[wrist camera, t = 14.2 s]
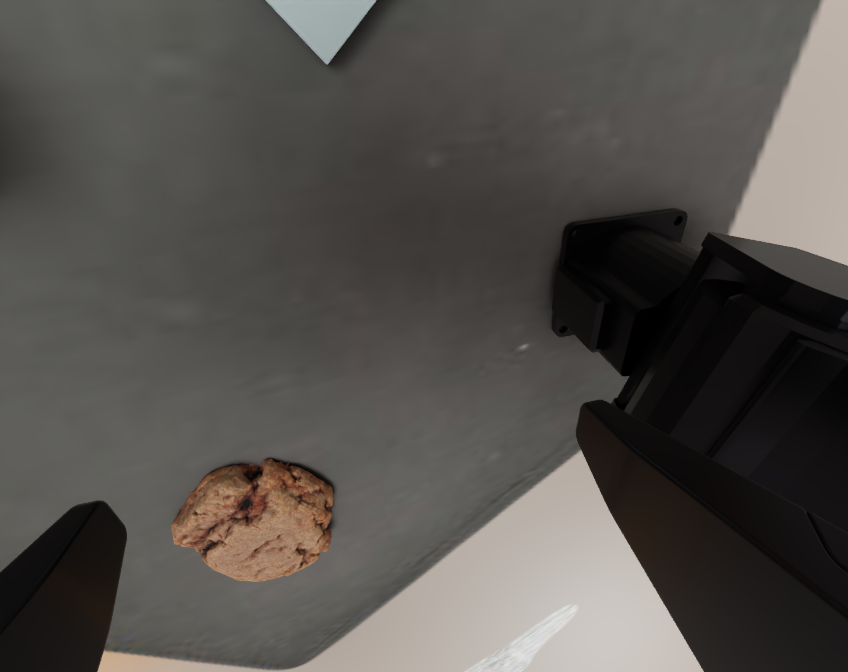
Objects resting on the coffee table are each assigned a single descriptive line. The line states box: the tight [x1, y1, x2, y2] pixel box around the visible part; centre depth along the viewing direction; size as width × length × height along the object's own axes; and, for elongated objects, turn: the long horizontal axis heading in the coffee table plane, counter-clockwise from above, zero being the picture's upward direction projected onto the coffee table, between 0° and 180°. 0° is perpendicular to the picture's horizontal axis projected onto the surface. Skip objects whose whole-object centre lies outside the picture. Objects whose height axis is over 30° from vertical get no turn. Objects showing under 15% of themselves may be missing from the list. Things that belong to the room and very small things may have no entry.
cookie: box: [171, 459, 333, 582], centre depth 27 cm, size 10×11×3 cm
